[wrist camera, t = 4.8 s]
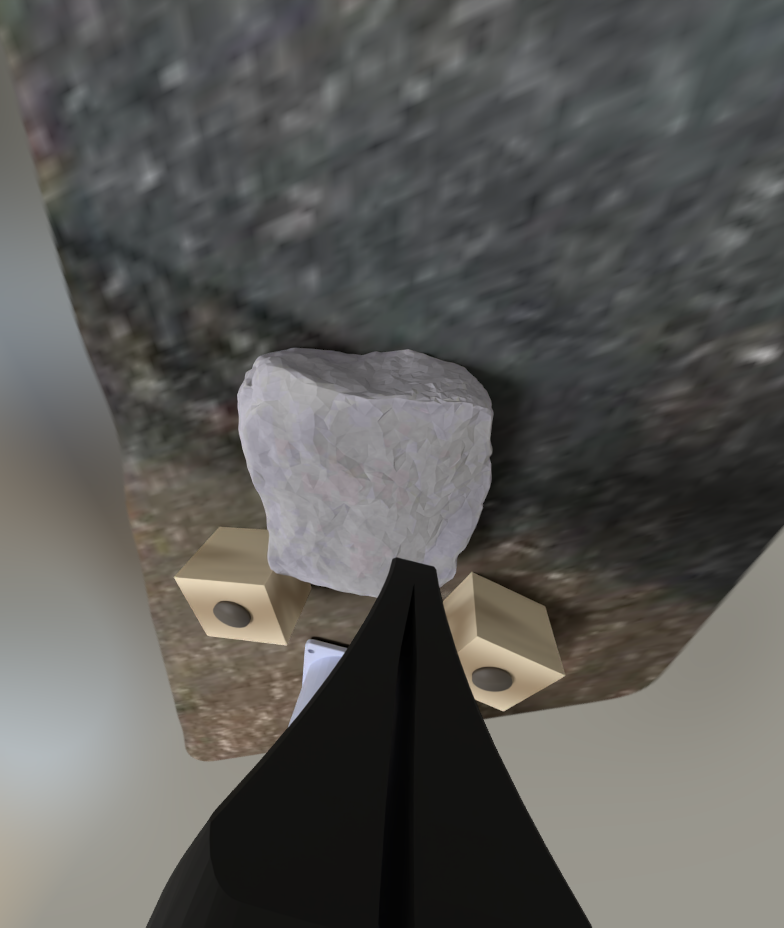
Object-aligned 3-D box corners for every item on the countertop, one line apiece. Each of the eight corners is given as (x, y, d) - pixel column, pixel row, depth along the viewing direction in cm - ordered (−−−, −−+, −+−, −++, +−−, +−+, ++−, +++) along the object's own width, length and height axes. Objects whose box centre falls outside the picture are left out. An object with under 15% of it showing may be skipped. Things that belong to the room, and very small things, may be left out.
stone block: (487, 344, 14) (253, 335, 13) (534, 381, 10) (201, 371, 9) (449, 537, 21) (289, 538, 20) (467, 607, 17) (268, 611, 16)
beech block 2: (494, 642, 22) (503, 715, 18) (429, 613, 21) (425, 682, 18) (544, 604, 19) (566, 680, 16) (471, 569, 19) (477, 640, 15)
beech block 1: (312, 586, 22) (285, 648, 18) (244, 580, 22) (205, 639, 19) (297, 529, 19) (262, 588, 16) (220, 525, 20) (170, 580, 16)
